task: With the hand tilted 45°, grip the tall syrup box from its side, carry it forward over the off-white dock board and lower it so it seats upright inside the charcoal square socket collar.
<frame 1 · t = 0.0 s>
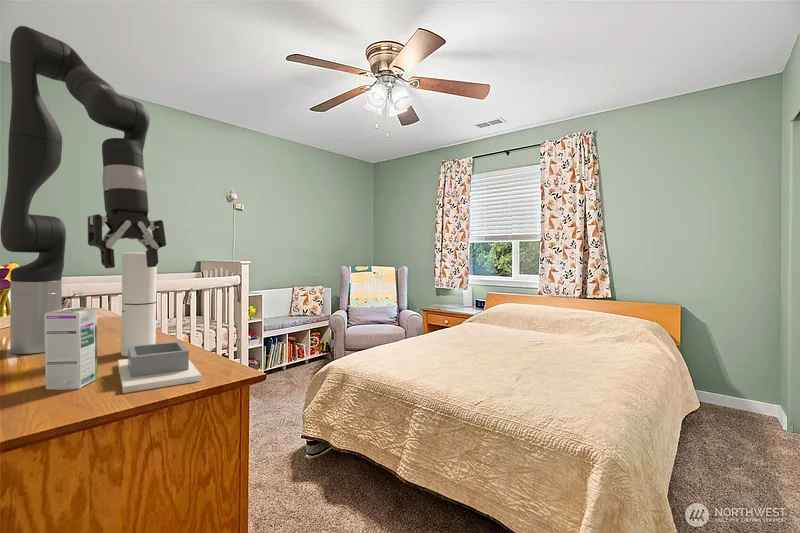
hand: (131, 267, 81), 22 cm above the table, tool pointing down, fingers open, 8 cm apart
syrup box: (71, 385, 74), on the table
dock: (157, 372, 83), on the table
cylindrical container: (138, 353, 97), on the table
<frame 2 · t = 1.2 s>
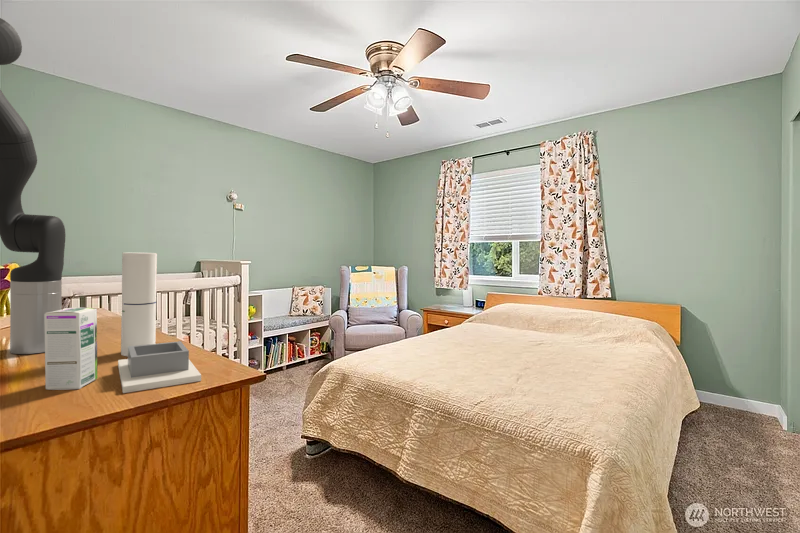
nothing on the table moved.
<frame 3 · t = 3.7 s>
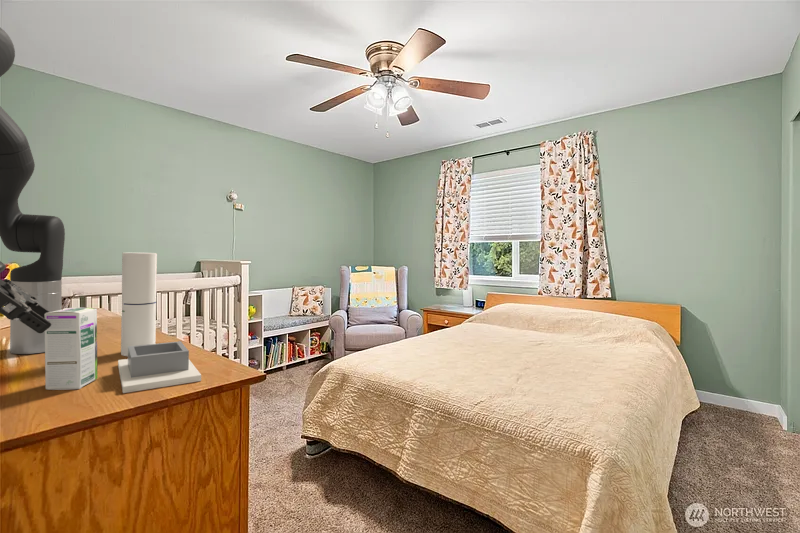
hand: (49, 325, 72), 12 cm above the table, tool tilted 45°, fingers open, 8 cm apart
nothing on the table moved.
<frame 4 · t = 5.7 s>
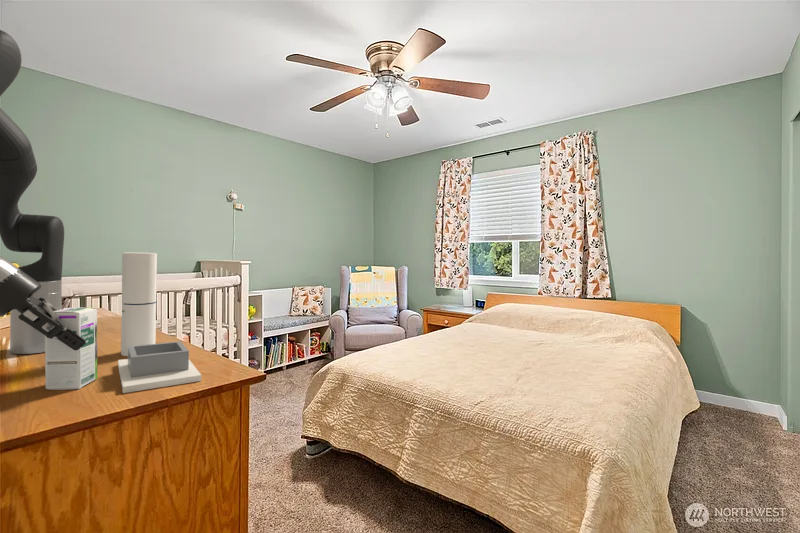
hand: (82, 341, 75), 8 cm above the table, tool tilted 45°, fingers closed on syrup box, 7 cm apart
syrup box: (71, 385, 74), on the table, touching gripper
everything else where it was.
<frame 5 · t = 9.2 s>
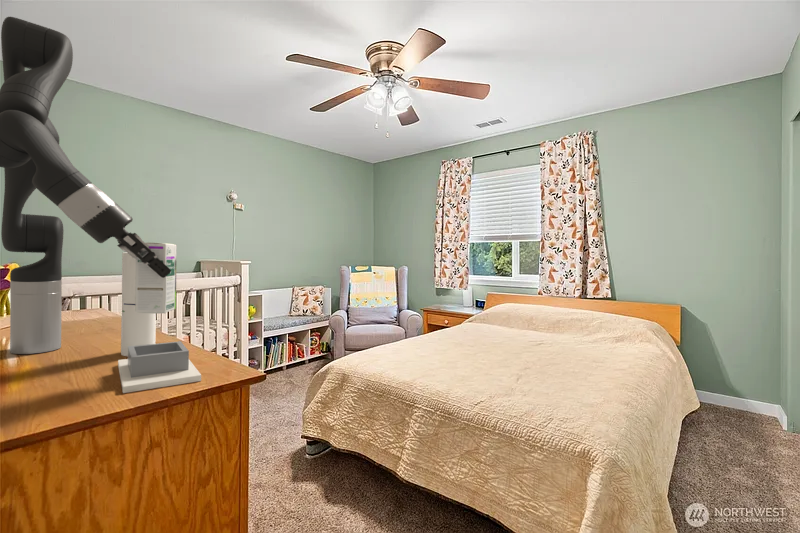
hand: (164, 273, 82), 21 cm above the table, tool tilted 45°, fingers closed on syrup box, 7 cm apart
syrup box: (155, 312, 82), point 13 cm above the table, touching gripper
everything else where it was.
when the fingers open (10 cm above the table, at t = 12.5 s): syrup box drops 1 cm, resting on dock.
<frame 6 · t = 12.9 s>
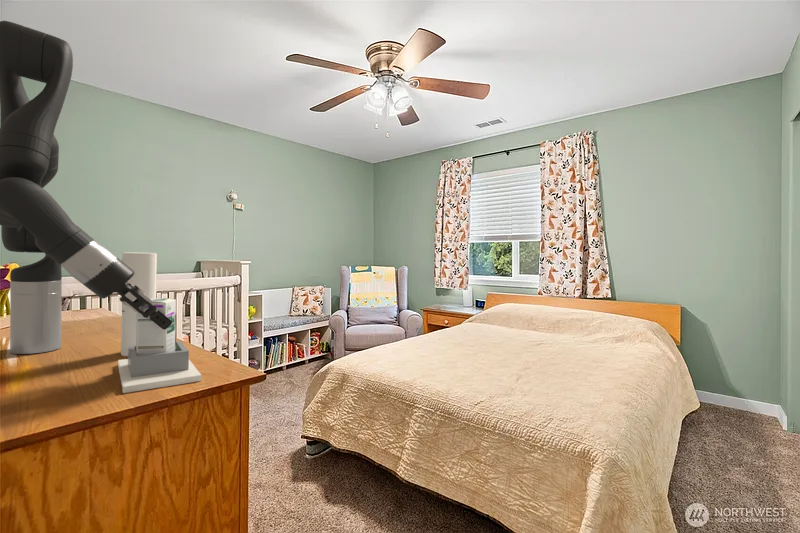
hand: (165, 322, 83), 11 cm above the table, tool tilted 45°, fingers open, 8 cm apart
syrup box: (156, 368, 82), point 1 cm above the table, touching dock
everything else where it was.
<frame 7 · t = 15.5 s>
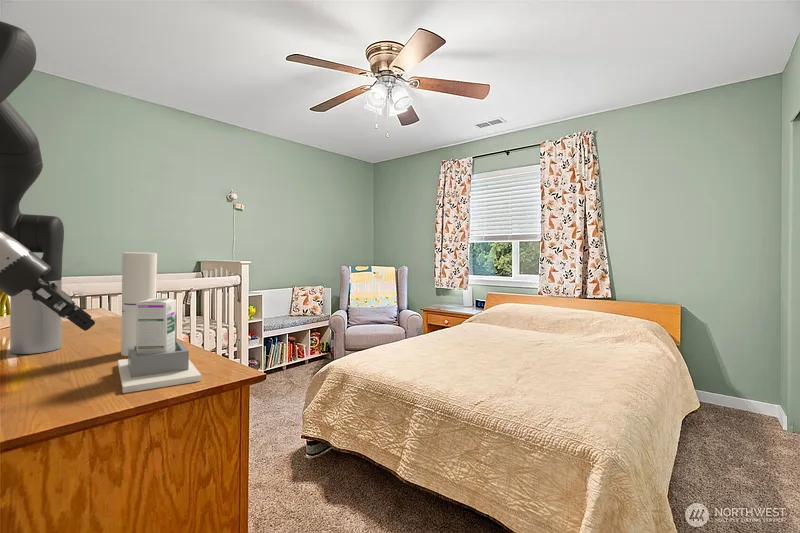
hand: (89, 323, 76), 11 cm above the table, tool tilted 45°, fingers open, 8 cm apart
nothing on the table moved.
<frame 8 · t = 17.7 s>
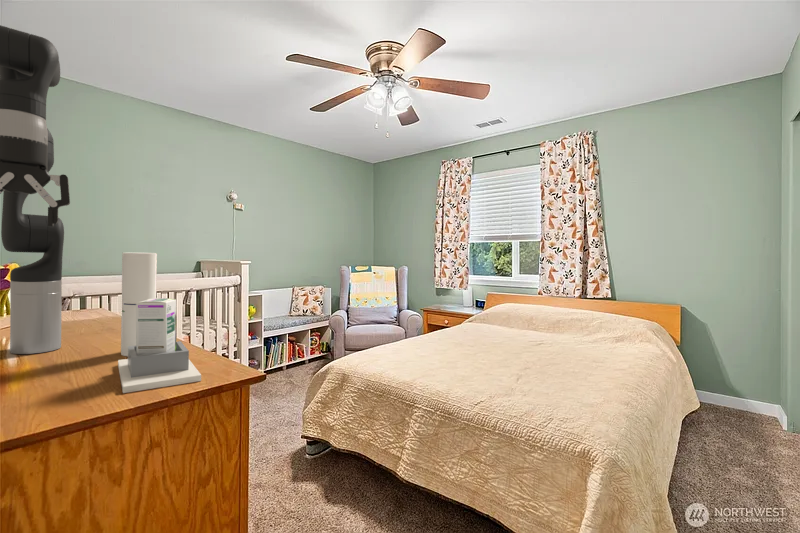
hand: (20, 224, 74), 30 cm above the table, tool pointing down, fingers open, 8 cm apart
nothing on the table moved.
at the end: syrup box 0.2 cm off-centre on the dock, point 1.0 cm above the dock's base; syrup box tilted 0°; the gripper is holding nothing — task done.
